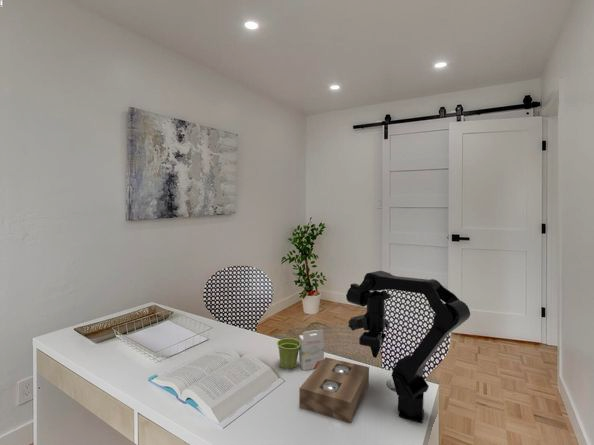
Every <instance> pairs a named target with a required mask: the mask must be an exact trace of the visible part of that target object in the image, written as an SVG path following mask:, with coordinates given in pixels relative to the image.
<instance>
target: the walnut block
mask: <svg viewBox="0 0 594 445" xmlns="http://www.w3.org/2000/svg"><path fill="white" fill-rule="evenodd" d="M336 366H346V367H347V368H348V369H349V373H348V375H345V374H341V373H337V372H335V367H336ZM327 381H332V382H335V383H337V384H338V391H337V392H332V391H328V390H325V389H323V383H325V382H327ZM369 385H370V366H367V365H361V364H358V363H352V362H348V361H344V360H341V359H335V358H331V357H327V356H324V360H323V361H322V362H321V363H320V364H319V365H318V367H317V368H316V369H313V371H312V373H311V374H310V375H309V376H308V377H307V378H306V379H305V381H304V382H303V383H302V384H301V386H300V387H299V390H298V391H299V399H298V401H299V404H298V405H299V408H301V409H304V410H307V411H310V412H313V413H317V414H320V415H323V416H326V417H330V418H333V419H336V420H340V421H342V422H346V423H349V424H351V423H352V422H353V418H355V415H356V412H357V410H358V408H359V406H360V403H361V401H362V400H363V398H364V395H365V393H366V391H367V389H368V386H369Z"/></svg>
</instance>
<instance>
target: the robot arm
mask: <svg viewBox="0 0 594 445" xmlns="http://www.w3.org/2000/svg"><path fill="white" fill-rule="evenodd" d="M387 290H391V291H393V290H394V291H399V292H407V293H414V294H421V295H423V296H425V298H426V300H427V302H428V305H429V307H430V309H431V310H432V311H433V313H435V314H434V316H433V320H432V321H433V322H432V326H431V328H429V330H428V331H427V333H426V334H425V336H424V337H423V339H422V340H421V341H420V343H419V344H418V346H417V347H416V348H415V349H414V350H413V352H412V354H408V355H405V356H404V357H402V358H400V359H398V360H397V362H396V363H395V366H394V367H393V368H391V370H392V372H391V378H392V381H393V384H394V388H395V391H396V395H397V396H398V397H397V411H398V416H399V417H400V418H403V419H406V420H411V421H413V422H418V423H421V424H422V423H423V422H424V413H425V408H424V402H425V401H424V398H425V393H426V392H428V389H429V387H430V386H429V384H428V383H427V381H426V380H425V378H424V377H423V375H424V370H425V365H426V364H427V363H428V362H429V361H430V359H431V358H432V356H433V355H434V354H435V353H436V351H437V350H438V348H439V347H441V345H442V343H443V342H444V341H445V339H446V338H447V337H448V336H449V334H450V333H452V332H453V331H455V330H456V329H457V328H458V327H460V326H461V325H463V323H465V322H466V321H467V320H469V318H471V317H470V316H471V311H470V308H469V306H468V305H467V304H466V303H465V302H464V301H462V300H460V298H459V297H458V296H457V295H456V294H455V293H453V292H452V291H450V290H448V289H447V288H446V287H445V286H444V285H442V283H440V282H439V281H438V280H437V279H434V278H432V279H425V278H416V277H407V276H396V275H393V274H391V273H390V272H387V271H383V270H377V271H372V272H367V273H365V275H364V277H363V280H362V281H361V283H360V284H359V283H351V284H350V287H349V288H348V290H347V292H346V298H345V299H346V301H347V302H348V303H350V304H353V305H357V306H359V307H366V312H365V313H364V314H361V315H357V316H353V317H350V319H349V320H348V326H347V327H348V328H350V329H351V330H350V331H353V332H354V331H355V330H359V329H363V331H364V332H363V333H361V335H360V336H359V338H358V340H359V341H358V342H359V345H360V346H364V347H370V351H371V354H372V358H375V359H377V357H378V355H379V352H380V350H381V349H382V345H383V343H384V340H385V338H386V336H387V334H386V333H384V331H385V330H386V331H389V329H390V321H389V320H388V319H387V318H385V317H386V311H385V308H386V304H385V303H386V301H387V300H389V299H391V298H392V295H390V294H389V292H387Z"/></svg>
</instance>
